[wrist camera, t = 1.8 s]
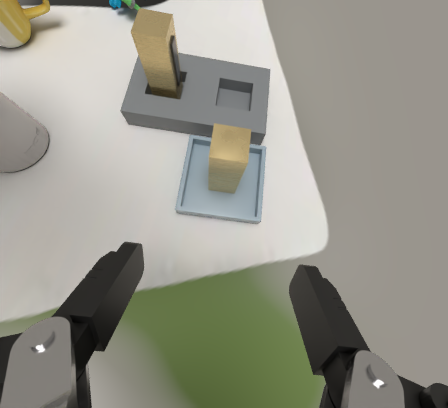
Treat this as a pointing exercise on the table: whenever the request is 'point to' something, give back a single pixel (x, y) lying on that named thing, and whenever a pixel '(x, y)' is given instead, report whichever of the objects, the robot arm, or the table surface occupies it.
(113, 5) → the blue and green toy
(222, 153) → the brass billet
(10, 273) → the table surface
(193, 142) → the light blue tray
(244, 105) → the grey slotted fixture block
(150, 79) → the seated billet
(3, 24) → the mug
